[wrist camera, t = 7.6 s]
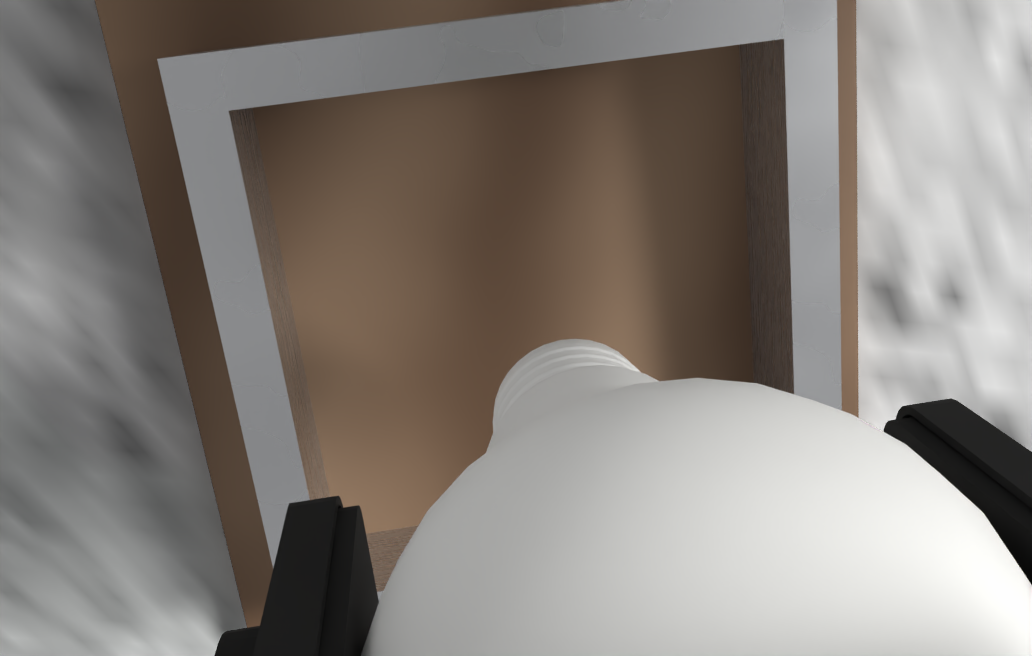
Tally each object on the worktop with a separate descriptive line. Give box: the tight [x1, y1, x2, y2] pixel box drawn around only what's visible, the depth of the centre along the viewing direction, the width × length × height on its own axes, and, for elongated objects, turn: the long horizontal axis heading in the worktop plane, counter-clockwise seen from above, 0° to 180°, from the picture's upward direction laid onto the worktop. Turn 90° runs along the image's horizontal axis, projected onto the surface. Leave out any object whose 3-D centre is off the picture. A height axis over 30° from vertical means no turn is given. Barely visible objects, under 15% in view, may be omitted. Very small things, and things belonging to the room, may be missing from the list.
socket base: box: [95, 0, 858, 628], centre depth 22 cm, size 15×15×1 cm
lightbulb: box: [361, 339, 1032, 656], centre depth 11 cm, size 6×6×11 cm
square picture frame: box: [157, 0, 842, 601], centre depth 20 cm, size 12×12×2 cm
